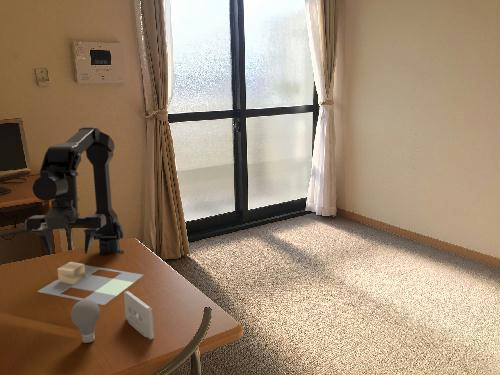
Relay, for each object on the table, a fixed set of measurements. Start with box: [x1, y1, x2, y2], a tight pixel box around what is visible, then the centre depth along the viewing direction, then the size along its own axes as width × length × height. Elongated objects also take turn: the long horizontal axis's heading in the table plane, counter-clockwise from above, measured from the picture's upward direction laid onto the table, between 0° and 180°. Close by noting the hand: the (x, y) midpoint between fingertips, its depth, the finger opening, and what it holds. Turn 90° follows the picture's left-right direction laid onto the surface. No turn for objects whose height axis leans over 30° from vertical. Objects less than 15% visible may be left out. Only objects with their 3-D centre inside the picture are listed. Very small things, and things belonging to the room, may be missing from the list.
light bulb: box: [70, 298, 101, 344], centre depth 93 cm, size 6×6×10 cm
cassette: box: [123, 290, 155, 340], centre depth 98 cm, size 12×2×8 cm, turn 43°
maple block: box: [57, 261, 86, 284], centre depth 120 cm, size 5×5×4 cm
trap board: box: [36, 264, 144, 306], centre depth 119 cm, size 18×22×2 cm
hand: (68, 254), depth 110 cm, fingers open, 9 cm apart
